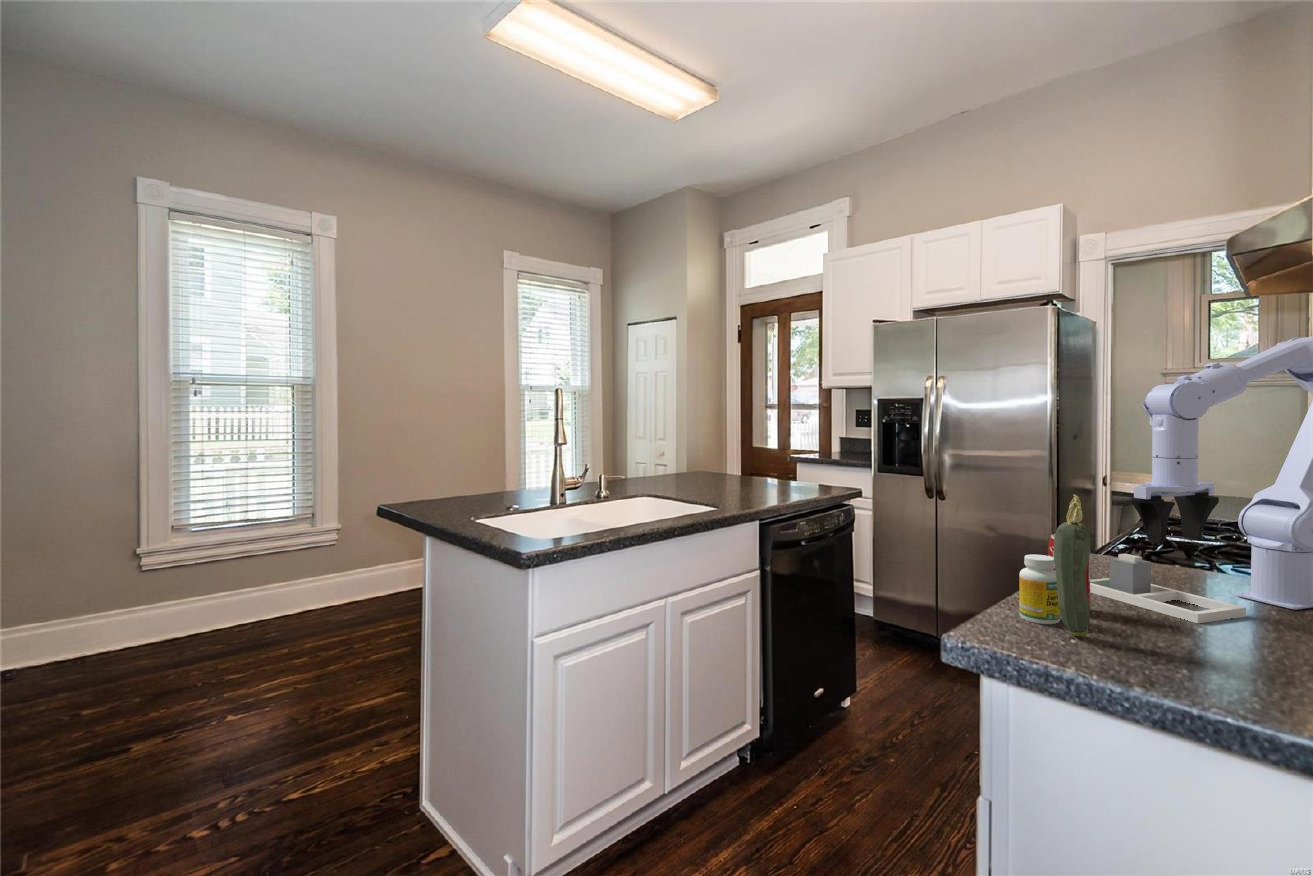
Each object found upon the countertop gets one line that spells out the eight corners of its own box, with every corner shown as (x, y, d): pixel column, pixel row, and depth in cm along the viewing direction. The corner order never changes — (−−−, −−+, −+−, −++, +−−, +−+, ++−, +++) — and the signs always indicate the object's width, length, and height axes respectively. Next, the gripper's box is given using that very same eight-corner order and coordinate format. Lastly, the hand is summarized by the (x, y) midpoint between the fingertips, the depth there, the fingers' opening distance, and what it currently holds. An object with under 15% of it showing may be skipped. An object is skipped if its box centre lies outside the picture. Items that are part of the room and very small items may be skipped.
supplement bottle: (1029, 611, 97) (1030, 551, 97) (1067, 620, 92) (1067, 557, 92) (1012, 618, 94) (1012, 556, 94) (1050, 628, 89) (1050, 563, 89)
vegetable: (1078, 644, 83) (1079, 498, 82) (1046, 634, 87) (1046, 494, 86) (1096, 638, 85) (1098, 495, 84) (1064, 629, 89) (1065, 492, 88)
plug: (1126, 590, 107) (1127, 552, 107) (1150, 597, 103) (1151, 557, 103) (1109, 592, 106) (1109, 554, 106) (1132, 599, 102) (1133, 559, 102)
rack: (1121, 584, 111) (1121, 576, 111) (1245, 616, 93) (1245, 607, 93) (1078, 588, 108) (1078, 581, 108) (1197, 623, 90) (1197, 614, 90)
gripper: (1181, 454, 105) (1181, 533, 105) (1115, 457, 101) (1115, 538, 102) (1229, 456, 98) (1228, 540, 98) (1160, 460, 94) (1159, 547, 95)
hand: (1174, 540), depth 100 cm, fingers open, 7 cm apart
